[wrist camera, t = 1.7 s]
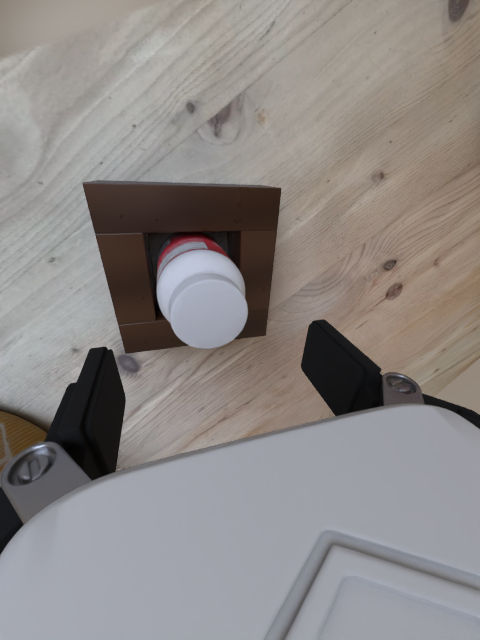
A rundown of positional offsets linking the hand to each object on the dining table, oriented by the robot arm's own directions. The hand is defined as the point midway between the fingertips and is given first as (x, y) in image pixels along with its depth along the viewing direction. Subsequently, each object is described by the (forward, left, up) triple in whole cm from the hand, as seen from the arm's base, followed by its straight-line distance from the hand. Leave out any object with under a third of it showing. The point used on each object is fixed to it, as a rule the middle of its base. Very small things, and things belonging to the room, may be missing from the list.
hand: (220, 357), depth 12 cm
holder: (0, 0, -15) cm, 15 cm away
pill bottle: (0, 0, -15) cm, 15 cm away
